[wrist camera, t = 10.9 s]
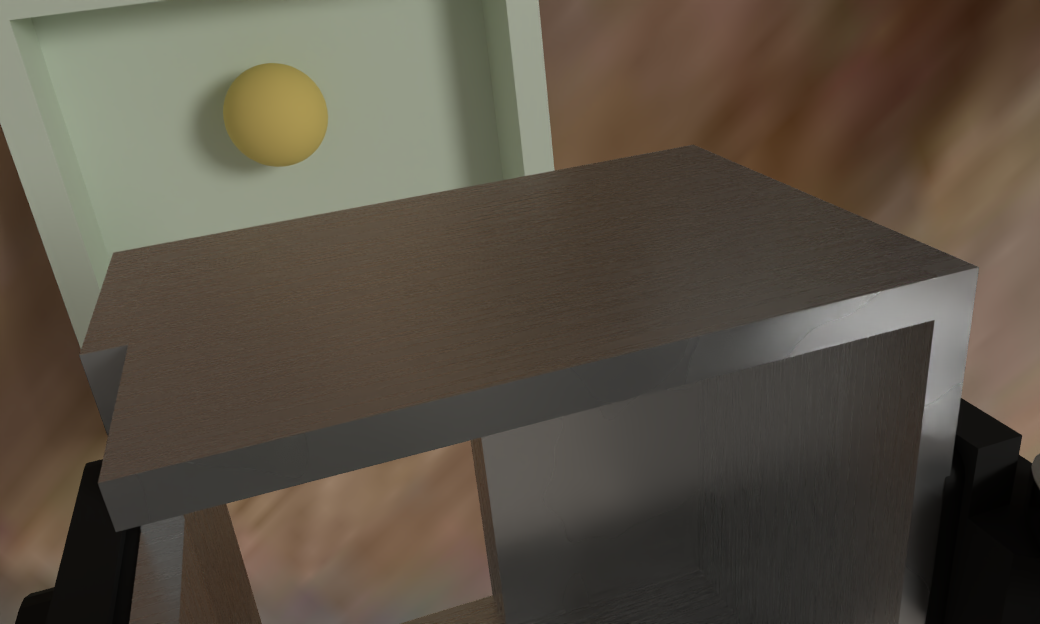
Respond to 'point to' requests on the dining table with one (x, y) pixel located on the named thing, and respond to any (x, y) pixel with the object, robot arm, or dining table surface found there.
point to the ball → (275, 114)
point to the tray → (201, 129)
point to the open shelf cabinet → (555, 392)
